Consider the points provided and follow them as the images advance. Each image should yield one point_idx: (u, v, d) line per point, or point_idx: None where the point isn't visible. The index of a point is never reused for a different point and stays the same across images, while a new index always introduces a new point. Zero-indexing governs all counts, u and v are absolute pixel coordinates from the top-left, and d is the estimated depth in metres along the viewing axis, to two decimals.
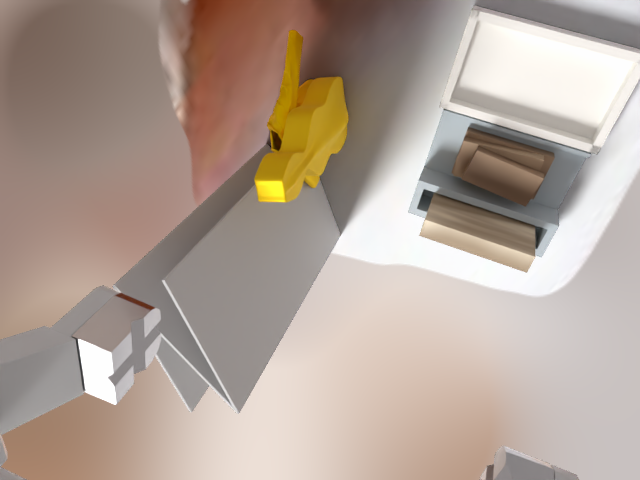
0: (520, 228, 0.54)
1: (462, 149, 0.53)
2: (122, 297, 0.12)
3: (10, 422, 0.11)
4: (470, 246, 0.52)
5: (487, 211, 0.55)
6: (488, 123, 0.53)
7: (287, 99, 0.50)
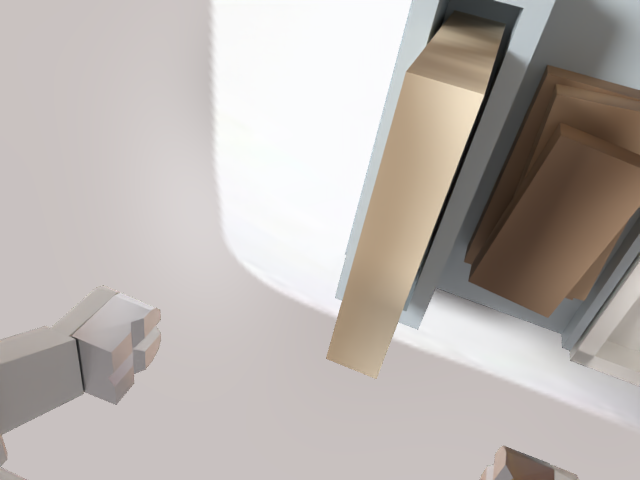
0: None
1: None
2: (122, 297, 0.12)
3: (10, 423, 0.11)
4: (384, 241, 0.16)
5: None
6: None
7: None
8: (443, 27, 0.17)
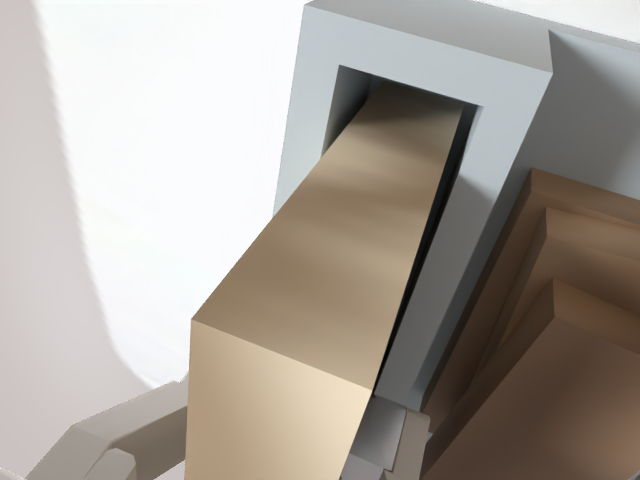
0: None
1: None
2: None
3: None
4: None
5: None
6: None
7: None
8: (348, 129, 0.10)
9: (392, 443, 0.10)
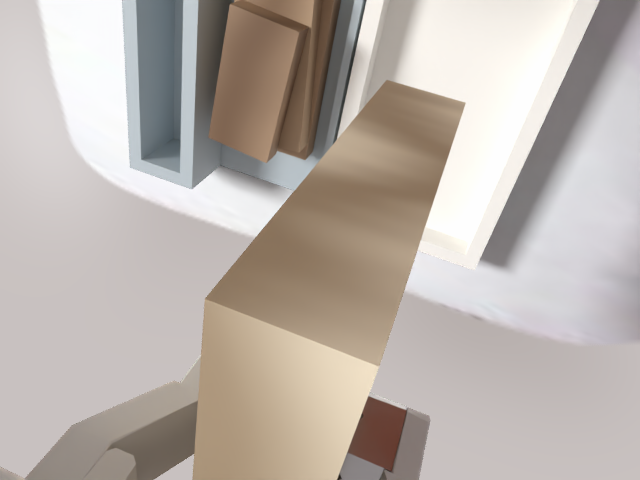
0: None
1: None
2: None
3: None
4: None
5: None
6: (355, 34, 0.26)
7: None
8: (353, 125, 0.10)
9: (392, 443, 0.10)
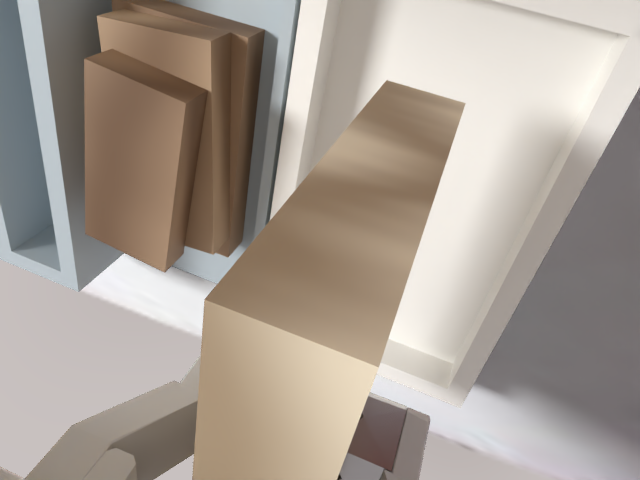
0: None
1: (183, 39, 0.16)
2: None
3: None
4: None
5: None
6: (282, 98, 0.17)
7: None
8: (353, 125, 0.10)
9: (392, 443, 0.10)
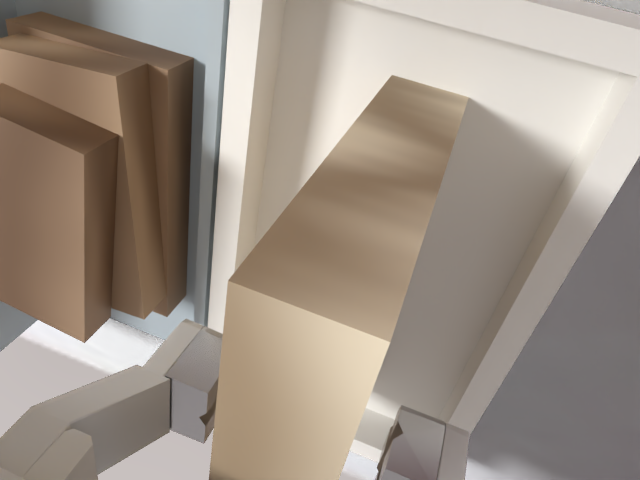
0: None
1: (83, 74, 0.13)
2: (208, 332, 0.11)
3: (101, 465, 0.10)
4: None
5: None
6: (216, 140, 0.14)
7: None
8: (360, 119, 0.11)
9: (433, 460, 0.10)
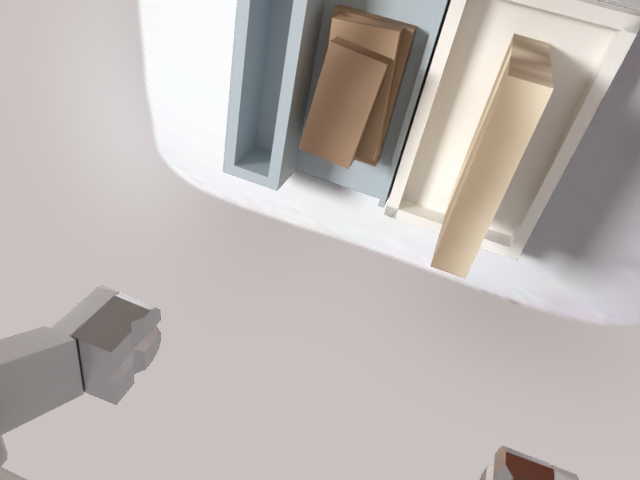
0: None
1: (383, 31, 0.29)
2: (122, 297, 0.12)
3: (10, 423, 0.11)
4: (482, 180, 0.26)
5: None
6: (427, 64, 0.31)
7: None
8: (513, 46, 0.27)
9: None
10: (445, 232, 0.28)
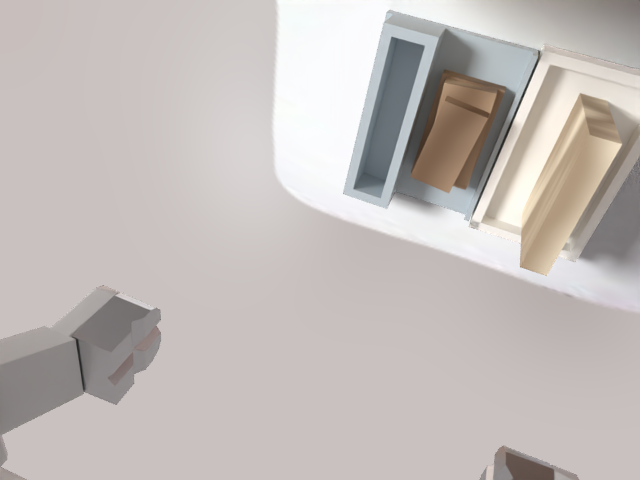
0: None
1: (483, 93, 0.40)
2: (122, 297, 0.12)
3: (10, 422, 0.11)
4: (565, 205, 0.36)
5: None
6: (512, 115, 0.41)
7: None
8: (583, 106, 0.37)
9: None
10: (534, 242, 0.38)
